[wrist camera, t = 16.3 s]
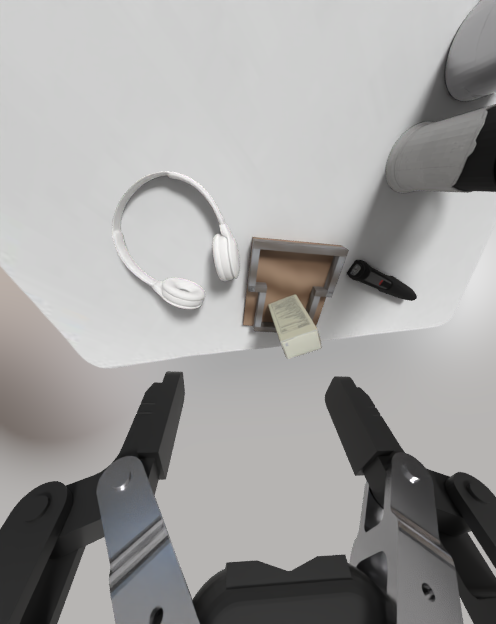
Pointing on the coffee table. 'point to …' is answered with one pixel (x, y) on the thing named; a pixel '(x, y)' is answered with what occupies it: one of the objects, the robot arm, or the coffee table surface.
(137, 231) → the coffee table surface
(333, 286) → the keyhole board
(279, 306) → the skincare box
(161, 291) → the headphones
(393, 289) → the electric trimmer
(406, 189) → the glass holder
